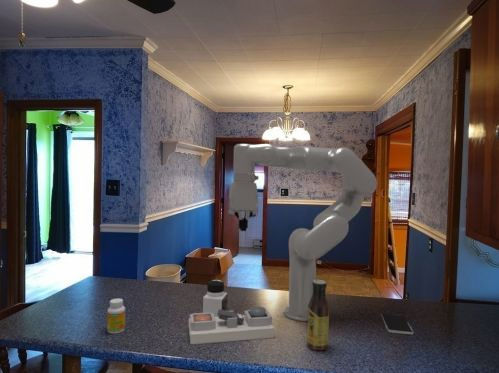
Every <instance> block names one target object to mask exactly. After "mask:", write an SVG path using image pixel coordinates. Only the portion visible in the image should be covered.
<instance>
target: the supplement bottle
mask: <svg viewBox="0 0 499 373" xmlns="http://www.w3.org/2000/svg"><path fill="white" fill-rule="evenodd" d="M106 315H107V320H106V321H107V322H106V324H107V325H106V326H107V327H106V331H107V333H109V334H113V335H114V334H119V333H122V332H124V331H125V329H126V307H125V306H124V299H123V298H112V299H111V300H110V301H109V307H108V308H107V313H106Z"/></svg>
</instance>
